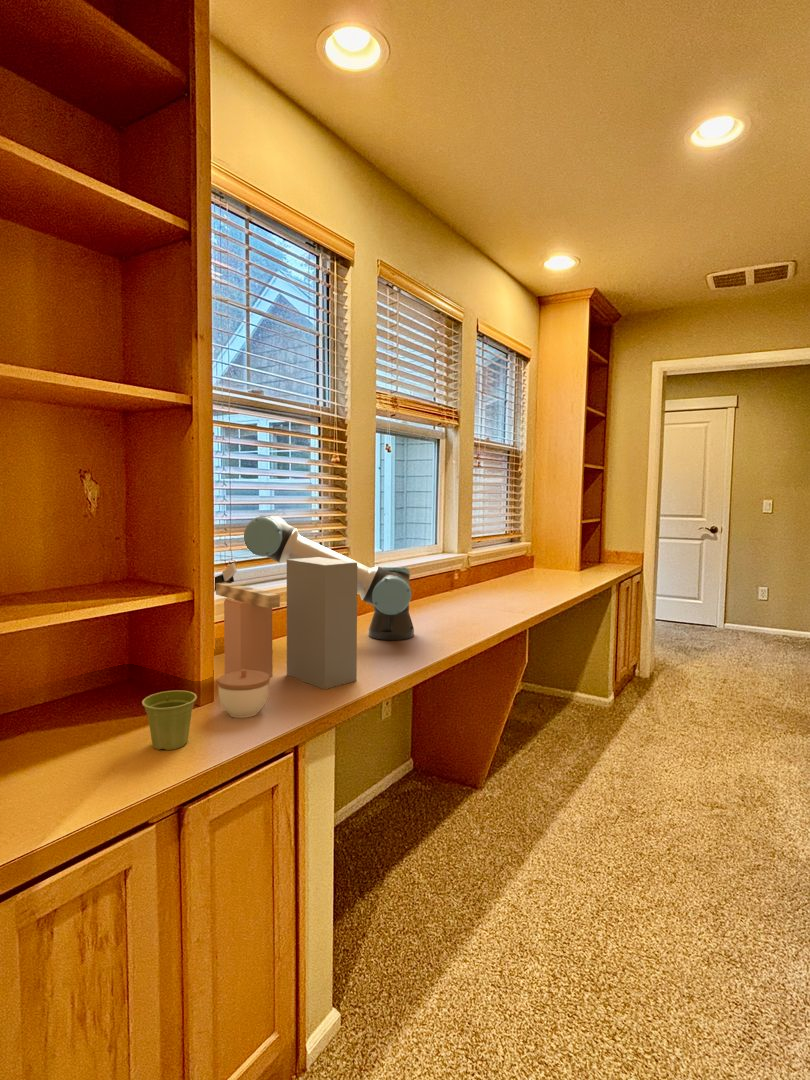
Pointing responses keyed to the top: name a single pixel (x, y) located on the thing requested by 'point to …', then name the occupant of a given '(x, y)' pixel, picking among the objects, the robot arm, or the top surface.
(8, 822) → the top surface
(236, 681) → the lidded jar
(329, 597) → the slate riser
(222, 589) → the birch batten
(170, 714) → the plant pot
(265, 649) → the tall salmon pillar
